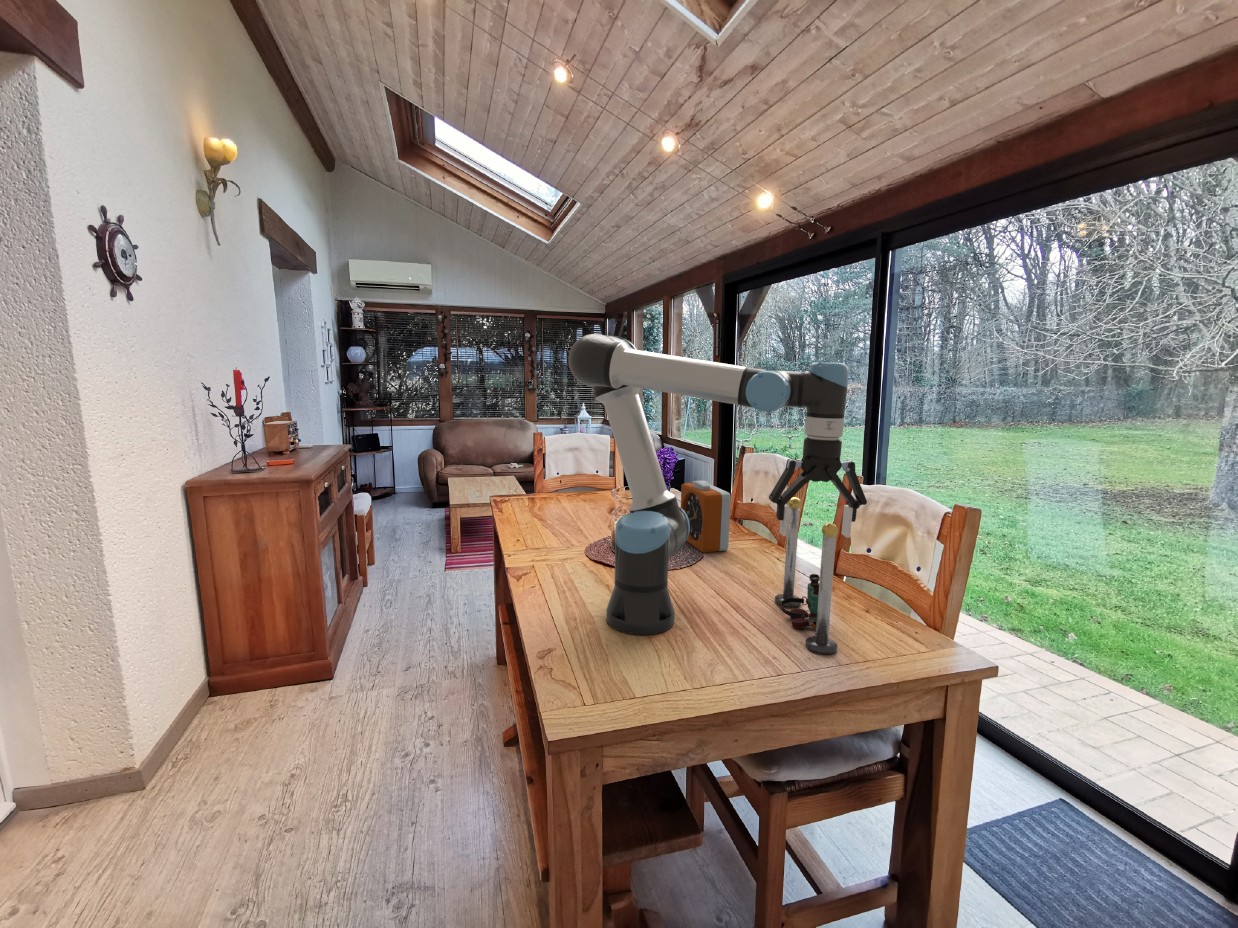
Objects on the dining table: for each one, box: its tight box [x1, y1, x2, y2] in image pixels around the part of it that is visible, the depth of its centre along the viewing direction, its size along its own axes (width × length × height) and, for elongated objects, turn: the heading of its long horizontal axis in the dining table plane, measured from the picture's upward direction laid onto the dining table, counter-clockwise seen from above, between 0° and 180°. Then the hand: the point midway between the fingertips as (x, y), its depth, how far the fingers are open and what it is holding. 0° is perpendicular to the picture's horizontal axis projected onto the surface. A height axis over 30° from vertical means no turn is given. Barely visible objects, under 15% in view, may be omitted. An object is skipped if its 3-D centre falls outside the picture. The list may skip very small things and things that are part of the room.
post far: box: [774, 496, 802, 609], centre depth 133 cm, size 6×6×26 cm
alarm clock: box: [680, 480, 732, 553], centre depth 178 cm, size 18×9×21 cm, turn 17°
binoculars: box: [780, 573, 820, 630], centre depth 124 cm, size 9×11×10 cm
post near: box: [804, 522, 839, 656], centre depth 112 cm, size 6×6×26 cm
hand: (814, 535), depth 121 cm, fingers open, 13 cm apart
